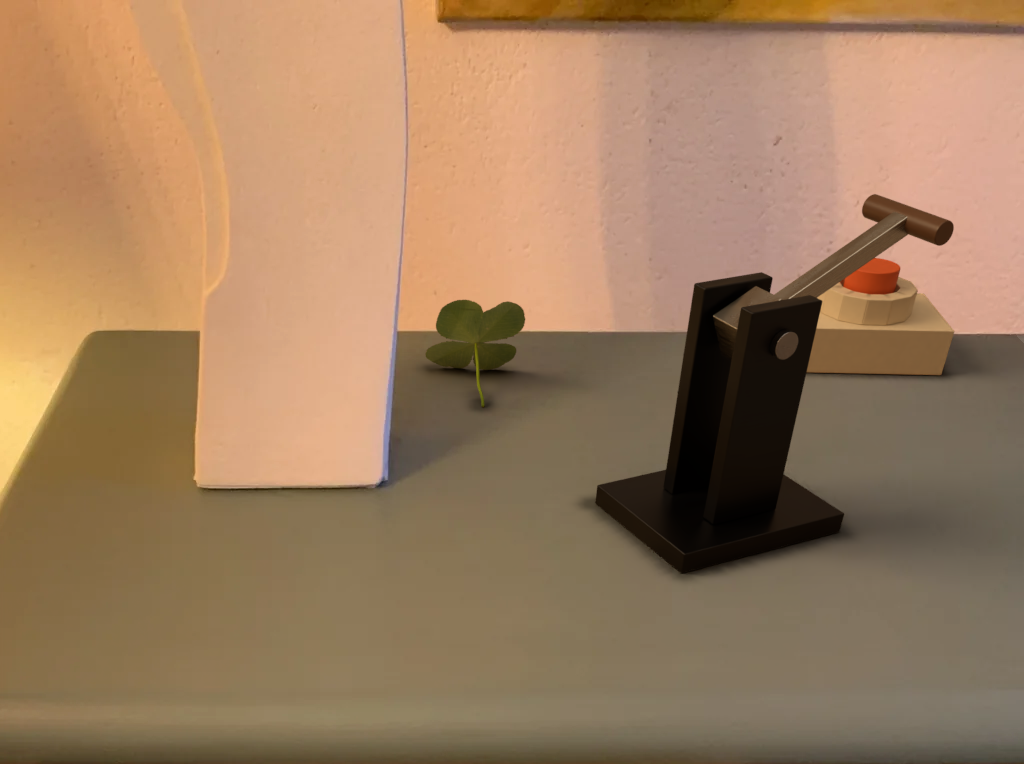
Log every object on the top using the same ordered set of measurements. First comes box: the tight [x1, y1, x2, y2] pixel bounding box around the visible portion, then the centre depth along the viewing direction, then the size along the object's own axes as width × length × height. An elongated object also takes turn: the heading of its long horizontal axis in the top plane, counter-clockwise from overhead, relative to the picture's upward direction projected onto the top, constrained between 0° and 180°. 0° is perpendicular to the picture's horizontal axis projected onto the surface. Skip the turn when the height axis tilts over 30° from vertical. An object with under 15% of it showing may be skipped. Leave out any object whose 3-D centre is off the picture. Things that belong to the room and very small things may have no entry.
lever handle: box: [713, 193, 955, 360], centre depth 60 cm, size 12×6×2 cm, turn 116°
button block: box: [806, 276, 955, 376], centre depth 85 cm, size 11×8×5 cm
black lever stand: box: [595, 271, 845, 574], centre depth 63 cm, size 11×9×13 cm
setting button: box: [843, 257, 901, 295], centre depth 83 cm, size 4×4×2 cm
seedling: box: [424, 299, 526, 408], centre depth 81 cm, size 7×8×7 cm
